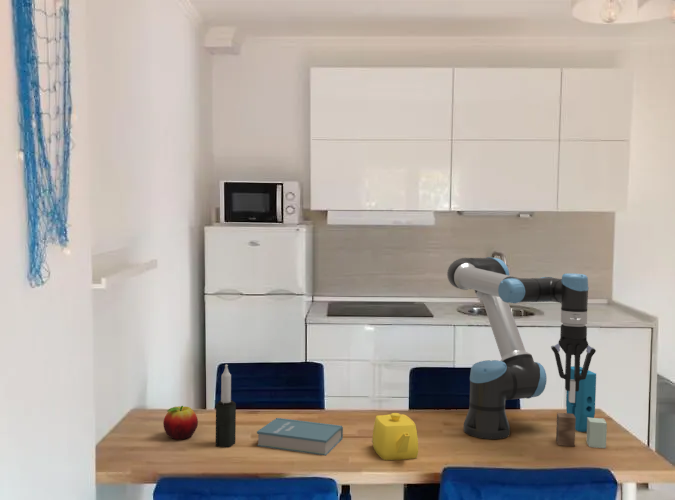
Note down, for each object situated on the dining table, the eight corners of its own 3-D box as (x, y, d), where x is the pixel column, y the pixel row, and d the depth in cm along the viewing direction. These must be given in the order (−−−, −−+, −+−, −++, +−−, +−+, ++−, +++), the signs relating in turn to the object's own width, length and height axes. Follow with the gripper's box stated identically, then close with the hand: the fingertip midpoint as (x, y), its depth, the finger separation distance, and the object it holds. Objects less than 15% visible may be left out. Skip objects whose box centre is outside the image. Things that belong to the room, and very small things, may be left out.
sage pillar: (589, 447, 206) (589, 421, 205) (586, 441, 210) (587, 417, 210) (605, 448, 205) (606, 423, 204) (602, 443, 209) (603, 418, 209)
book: (256, 447, 201) (257, 431, 201) (277, 431, 216) (278, 416, 216) (325, 457, 194) (326, 440, 194) (342, 440, 209) (342, 424, 209)
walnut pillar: (558, 445, 207) (559, 416, 206) (556, 440, 211) (557, 412, 211) (574, 446, 206) (575, 418, 205) (572, 441, 210) (573, 413, 210)
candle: (236, 442, 203) (237, 363, 202) (228, 448, 199) (229, 366, 198) (222, 440, 205) (223, 362, 204) (214, 445, 200) (214, 365, 199)
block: (595, 433, 219) (597, 374, 219) (581, 433, 219) (583, 374, 218) (577, 422, 231) (579, 366, 230) (564, 422, 231) (566, 366, 230)
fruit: (204, 436, 209) (204, 405, 208) (175, 444, 201) (175, 412, 200) (185, 428, 216) (185, 399, 216) (156, 436, 208) (156, 405, 208)
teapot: (426, 464, 188) (427, 424, 188) (385, 466, 186) (386, 426, 185) (404, 441, 208) (405, 404, 207) (367, 443, 205) (368, 406, 205)
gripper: (552, 325, 196) (550, 403, 196) (598, 327, 193) (596, 406, 194) (549, 321, 203) (548, 397, 204) (594, 323, 200) (592, 399, 201)
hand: (571, 401), depth 199 cm, fingers closed
